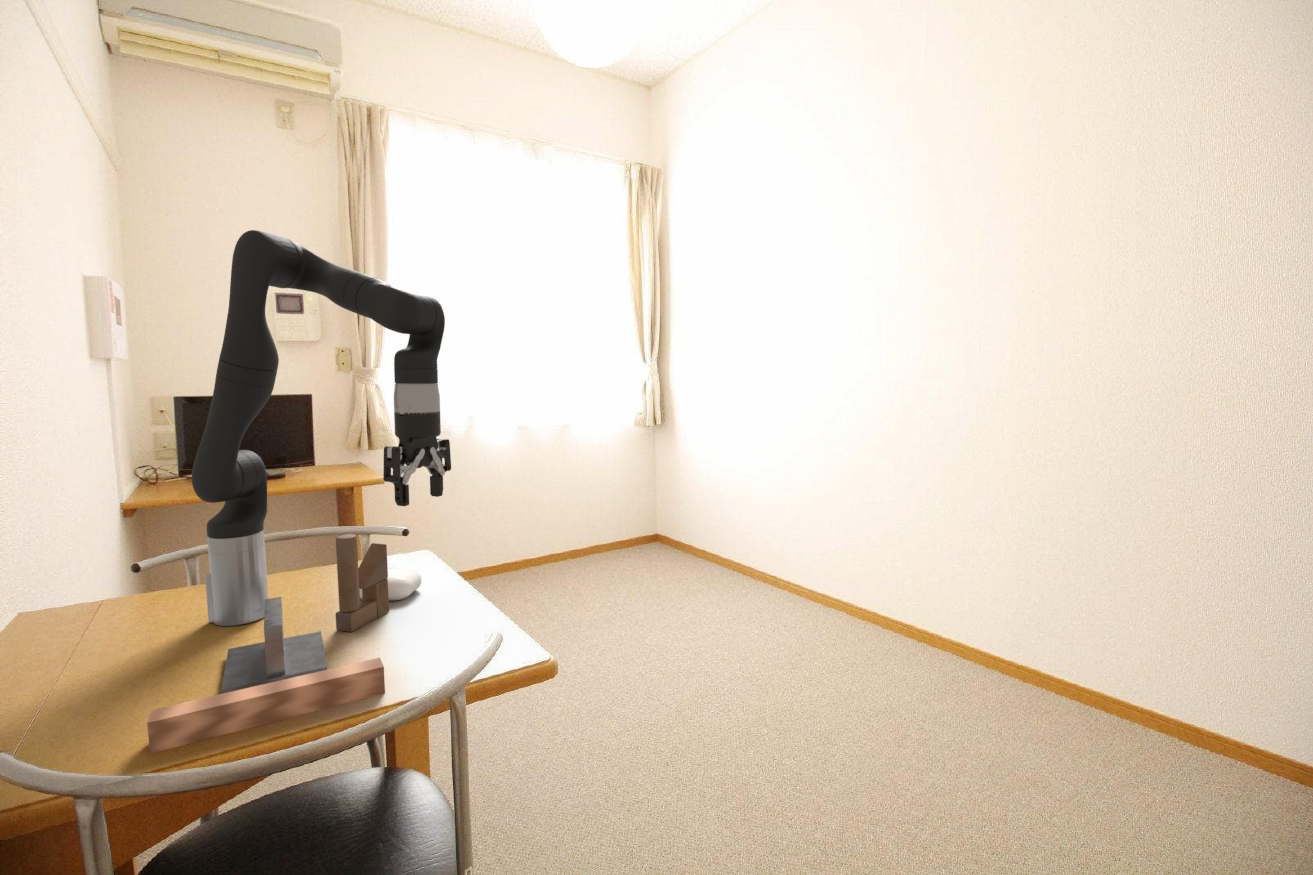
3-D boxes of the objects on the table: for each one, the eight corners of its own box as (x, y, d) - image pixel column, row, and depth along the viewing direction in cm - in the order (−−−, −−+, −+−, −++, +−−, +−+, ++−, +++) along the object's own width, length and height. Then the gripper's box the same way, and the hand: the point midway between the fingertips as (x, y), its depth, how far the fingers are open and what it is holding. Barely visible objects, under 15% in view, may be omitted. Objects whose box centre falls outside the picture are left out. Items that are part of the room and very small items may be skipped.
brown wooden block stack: (390, 611, 126) (386, 525, 124) (351, 633, 116) (346, 539, 114) (374, 609, 127) (370, 524, 125) (335, 631, 117) (330, 538, 115)
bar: (150, 756, 79) (147, 722, 79) (153, 742, 82) (151, 710, 82) (385, 694, 94) (383, 666, 94) (381, 684, 97) (379, 657, 97)
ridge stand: (327, 675, 99) (324, 618, 98) (221, 699, 92) (217, 638, 91) (321, 639, 113) (318, 588, 112) (228, 657, 106) (224, 603, 105)
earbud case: (406, 605, 130) (405, 580, 129) (346, 604, 131) (345, 579, 130) (426, 588, 140) (425, 565, 140) (370, 587, 141) (369, 564, 140)
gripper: (428, 406, 116) (430, 492, 117) (368, 411, 102) (372, 507, 104) (461, 408, 113) (463, 495, 115) (405, 412, 100) (408, 511, 102)
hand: (420, 500), depth 109 cm, fingers open, 8 cm apart
